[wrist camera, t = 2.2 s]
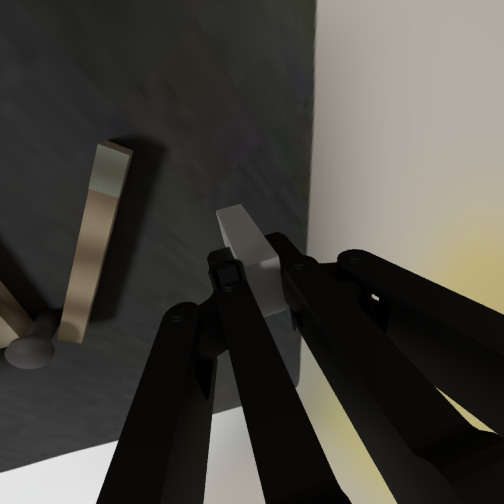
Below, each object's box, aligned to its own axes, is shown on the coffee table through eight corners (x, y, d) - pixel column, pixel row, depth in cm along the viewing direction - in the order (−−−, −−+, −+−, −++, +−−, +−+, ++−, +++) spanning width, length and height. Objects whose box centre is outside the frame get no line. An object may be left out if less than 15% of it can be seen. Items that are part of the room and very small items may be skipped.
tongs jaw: (88, 324, 34) (81, 343, 31) (65, 321, 33) (56, 340, 30) (133, 150, 27) (129, 155, 24) (105, 139, 26) (97, 143, 23)
